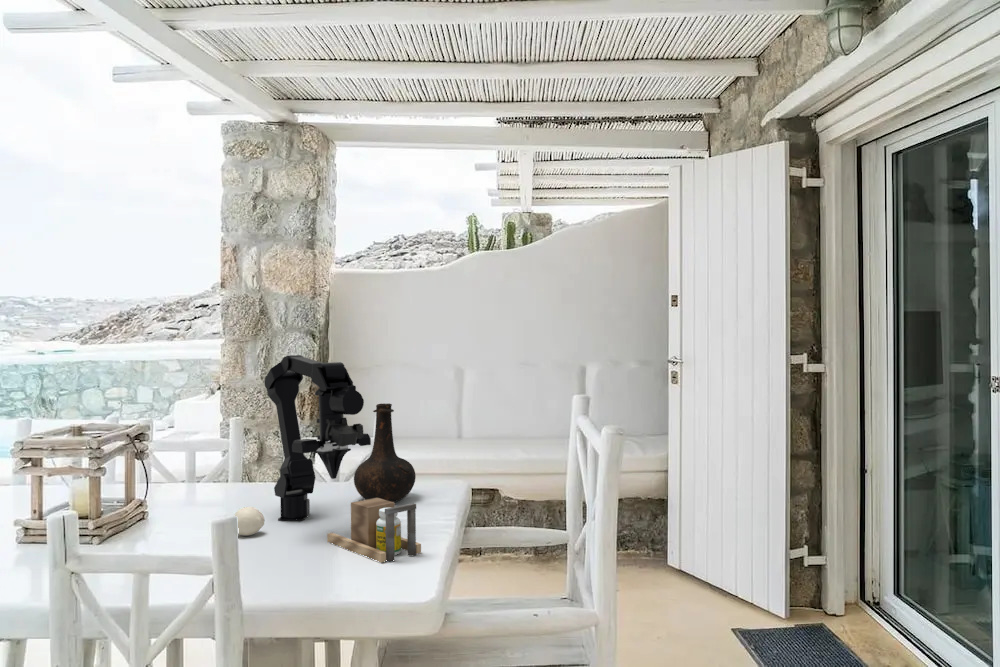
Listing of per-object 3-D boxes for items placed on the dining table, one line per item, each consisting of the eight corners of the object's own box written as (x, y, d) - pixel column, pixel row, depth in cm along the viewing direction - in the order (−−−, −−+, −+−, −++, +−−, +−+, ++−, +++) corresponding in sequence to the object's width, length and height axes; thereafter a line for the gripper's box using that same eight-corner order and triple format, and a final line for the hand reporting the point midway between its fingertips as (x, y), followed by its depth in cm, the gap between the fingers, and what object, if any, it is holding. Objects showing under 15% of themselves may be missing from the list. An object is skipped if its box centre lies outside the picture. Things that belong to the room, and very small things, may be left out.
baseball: (262, 537, 172) (262, 509, 172) (230, 539, 171) (230, 511, 171) (266, 530, 179) (266, 503, 179) (234, 532, 177) (234, 504, 177)
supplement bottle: (405, 550, 161) (404, 507, 161) (394, 557, 156) (394, 513, 156) (383, 548, 163) (382, 505, 163) (371, 555, 157) (371, 511, 157)
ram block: (351, 546, 164) (350, 502, 164) (377, 540, 169) (377, 497, 169) (368, 553, 159) (368, 507, 159) (394, 546, 164) (394, 502, 164)
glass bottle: (388, 510, 199) (387, 407, 199) (340, 502, 208) (339, 405, 208) (428, 497, 214) (427, 402, 214) (381, 491, 223) (381, 400, 223)
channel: (327, 542, 168) (327, 494, 168) (365, 533, 175) (365, 487, 175) (383, 564, 152) (382, 511, 152) (423, 553, 159) (422, 503, 159)
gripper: (313, 418, 164) (315, 487, 164) (382, 411, 177) (384, 475, 177) (289, 416, 173) (291, 483, 172) (357, 410, 185) (359, 472, 185)
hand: (333, 478), depth 176 cm, fingers closed
